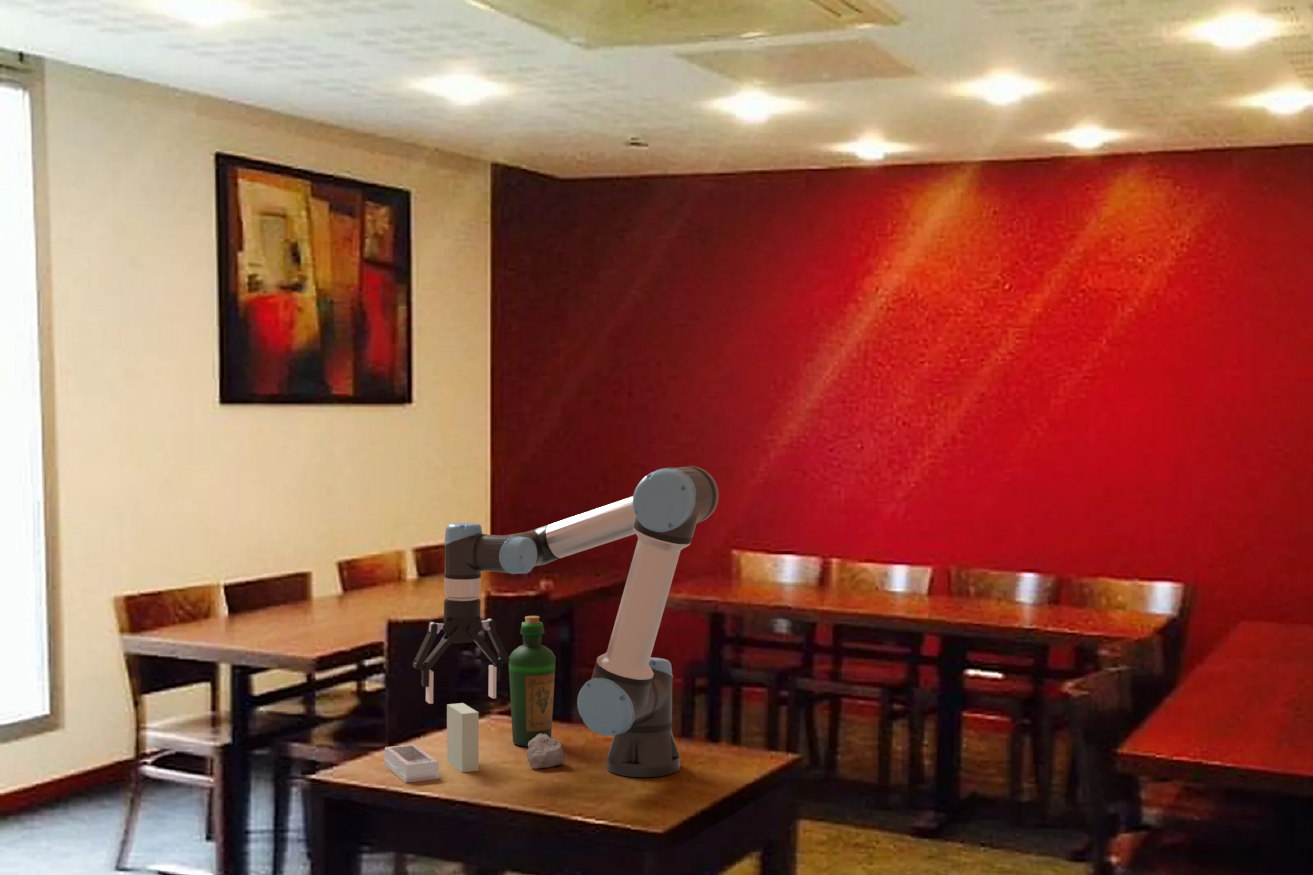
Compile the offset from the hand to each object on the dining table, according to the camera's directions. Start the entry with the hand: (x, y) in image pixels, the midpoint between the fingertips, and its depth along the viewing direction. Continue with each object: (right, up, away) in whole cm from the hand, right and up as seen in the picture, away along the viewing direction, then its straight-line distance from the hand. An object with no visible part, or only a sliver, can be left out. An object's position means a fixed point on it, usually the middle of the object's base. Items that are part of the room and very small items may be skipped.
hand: (461, 699), depth 308 cm
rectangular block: (0, -14, 0) cm, 14 cm away
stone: (+17, -14, +2) cm, 22 cm away
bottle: (+13, -13, +20) cm, 27 cm away
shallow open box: (-10, -14, -4) cm, 17 cm away
